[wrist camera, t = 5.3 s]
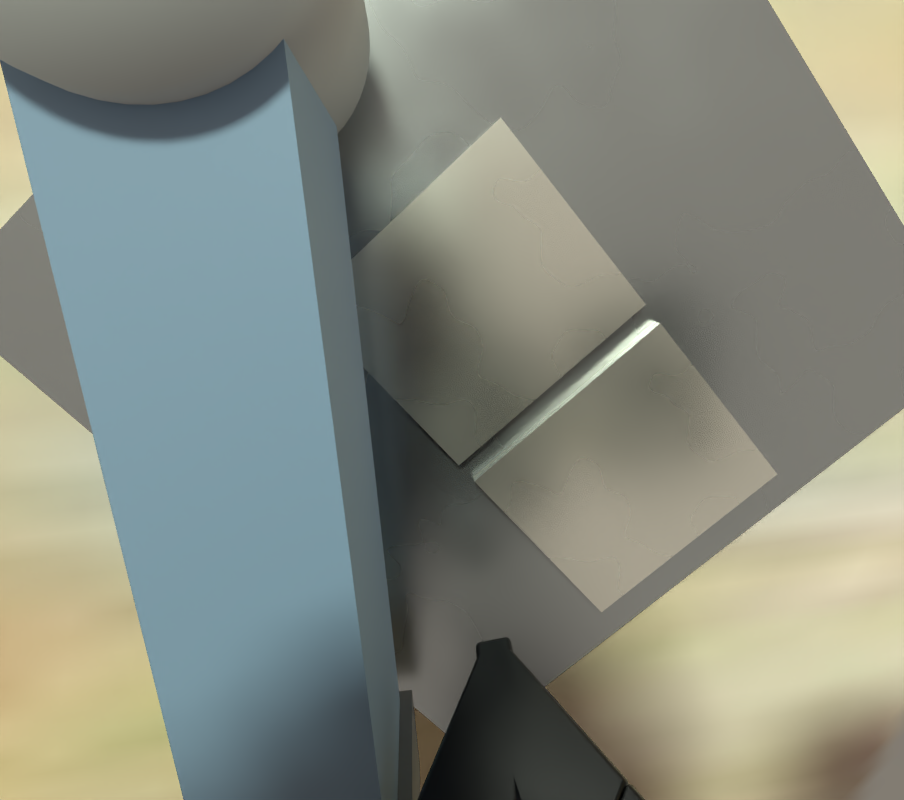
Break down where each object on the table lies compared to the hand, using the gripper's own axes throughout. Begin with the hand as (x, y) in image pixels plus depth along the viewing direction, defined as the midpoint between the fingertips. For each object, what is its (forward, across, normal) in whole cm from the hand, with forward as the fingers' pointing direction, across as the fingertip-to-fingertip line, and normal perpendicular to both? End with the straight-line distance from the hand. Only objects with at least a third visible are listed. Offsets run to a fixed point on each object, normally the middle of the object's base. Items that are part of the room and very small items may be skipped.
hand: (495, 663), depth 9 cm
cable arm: (+1, +2, -4) cm, 5 cm away
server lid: (+3, -1, -5) cm, 6 cm away
